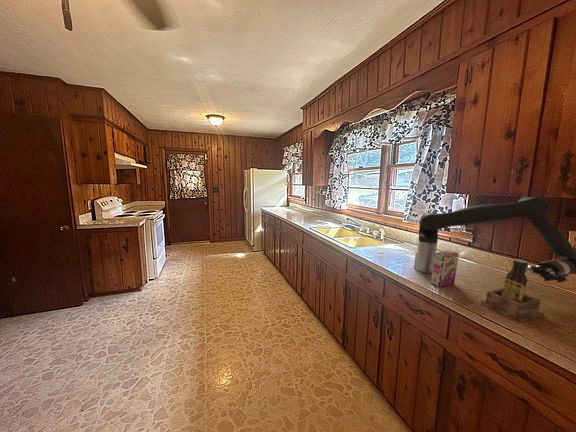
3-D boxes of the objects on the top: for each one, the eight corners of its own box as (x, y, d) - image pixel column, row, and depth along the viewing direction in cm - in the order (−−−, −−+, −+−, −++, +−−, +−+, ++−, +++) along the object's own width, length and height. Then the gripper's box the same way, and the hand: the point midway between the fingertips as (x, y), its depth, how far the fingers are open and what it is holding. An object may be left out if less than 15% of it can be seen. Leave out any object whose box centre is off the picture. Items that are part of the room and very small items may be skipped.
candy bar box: (439, 287, 115) (443, 255, 112) (430, 283, 120) (433, 252, 117) (455, 284, 119) (459, 252, 116) (445, 280, 124) (449, 249, 121)
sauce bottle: (496, 304, 99) (504, 258, 95) (504, 301, 101) (512, 256, 98) (516, 312, 93) (525, 264, 89) (524, 309, 95) (534, 261, 92)
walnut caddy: (480, 303, 101) (482, 290, 100) (500, 298, 106) (503, 285, 105) (522, 322, 88) (525, 307, 87) (543, 315, 93) (546, 301, 92)
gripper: (533, 255, 110) (512, 260, 104) (578, 266, 97) (557, 272, 91) (530, 271, 111) (509, 276, 105) (575, 284, 98) (553, 290, 92)
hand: (531, 274), depth 98 cm, fingers open, 8 cm apart
